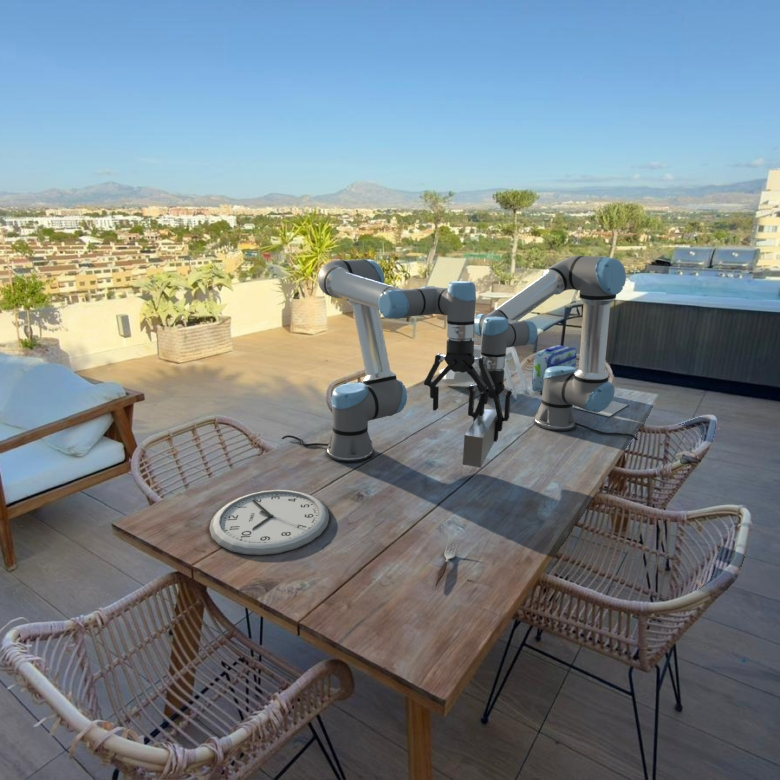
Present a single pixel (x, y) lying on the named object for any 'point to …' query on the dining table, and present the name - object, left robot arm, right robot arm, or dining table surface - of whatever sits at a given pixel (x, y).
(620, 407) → the invitation card
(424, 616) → the dining table surface
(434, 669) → the dining table surface
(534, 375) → the lunch box
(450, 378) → the white plastic object
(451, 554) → the fork
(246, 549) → the wall clock
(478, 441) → the bar
